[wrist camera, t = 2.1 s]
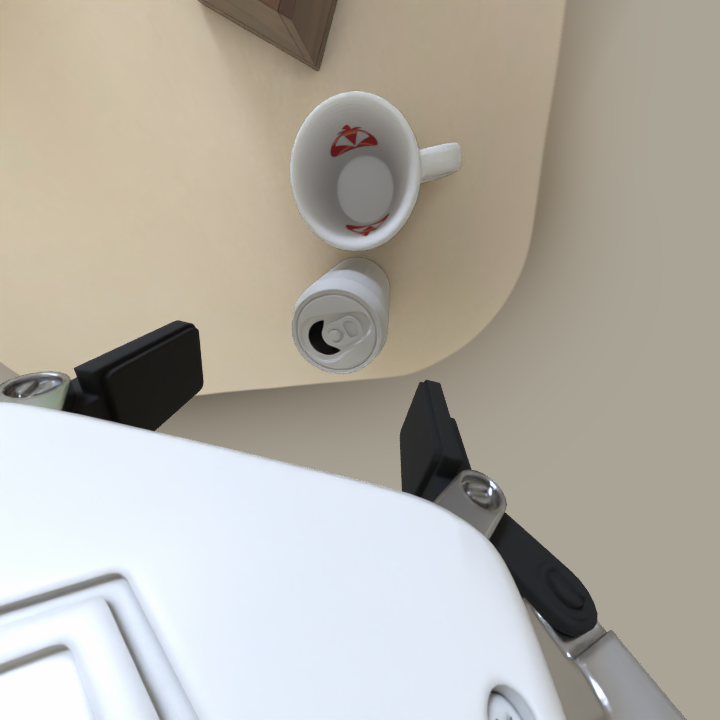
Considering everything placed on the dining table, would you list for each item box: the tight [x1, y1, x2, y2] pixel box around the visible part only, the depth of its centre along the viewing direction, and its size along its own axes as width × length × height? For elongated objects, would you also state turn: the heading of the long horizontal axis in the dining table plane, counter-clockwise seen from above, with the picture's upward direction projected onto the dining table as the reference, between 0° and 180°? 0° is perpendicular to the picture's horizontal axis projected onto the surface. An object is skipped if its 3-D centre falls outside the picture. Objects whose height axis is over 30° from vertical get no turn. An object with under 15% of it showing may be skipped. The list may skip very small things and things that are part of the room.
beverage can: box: [292, 258, 390, 374], centre depth 21 cm, size 6×6×12 cm
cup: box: [290, 91, 462, 251], centre depth 19 cm, size 11×8×8 cm
